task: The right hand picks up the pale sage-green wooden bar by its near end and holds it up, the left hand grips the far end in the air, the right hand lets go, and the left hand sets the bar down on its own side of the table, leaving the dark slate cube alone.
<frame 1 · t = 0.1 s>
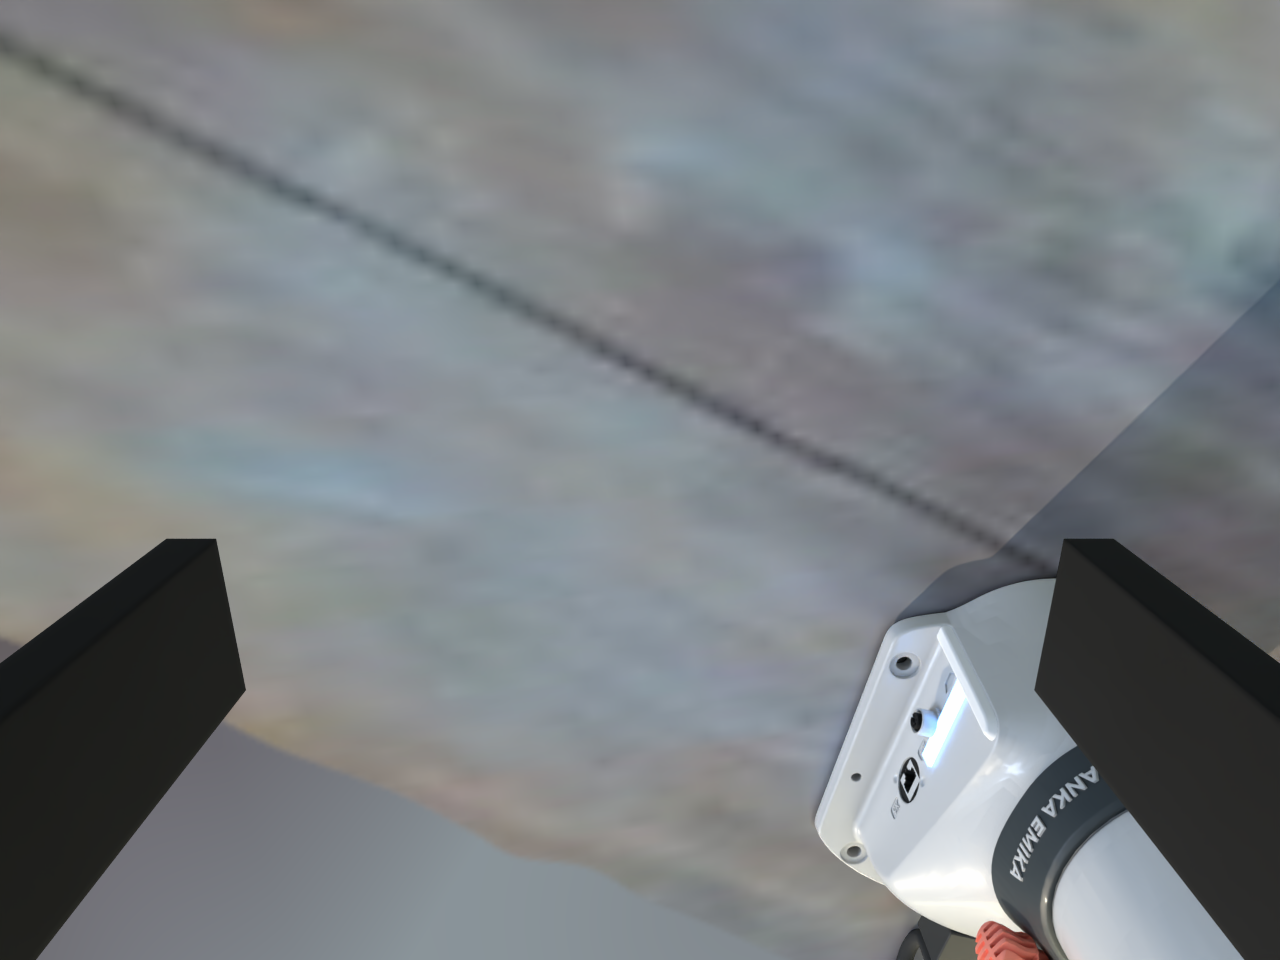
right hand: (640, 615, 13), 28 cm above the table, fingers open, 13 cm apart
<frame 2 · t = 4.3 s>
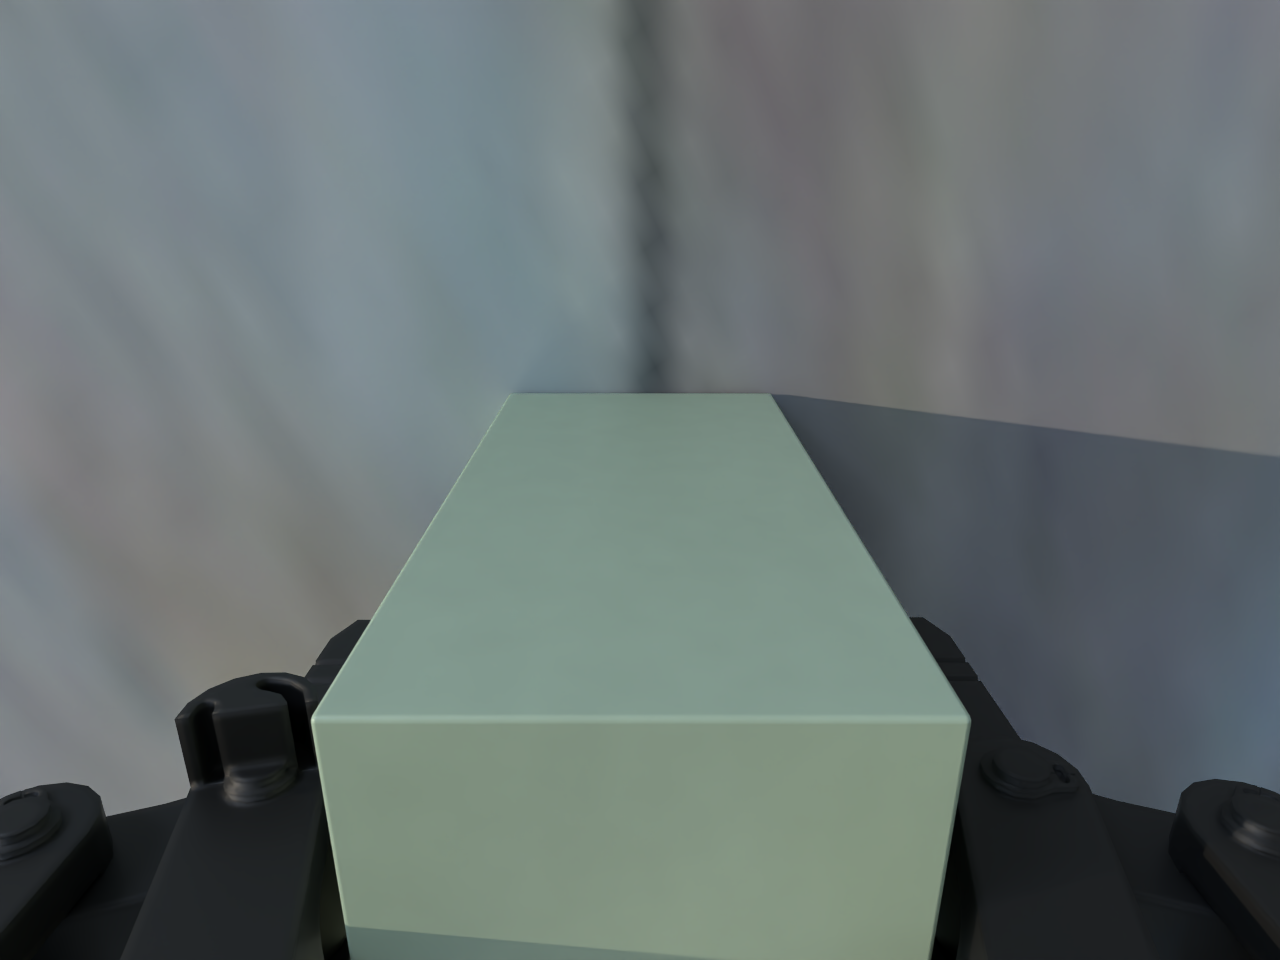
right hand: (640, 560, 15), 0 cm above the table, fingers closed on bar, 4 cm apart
bar: (640, 917, 18), on the table, touching right hand
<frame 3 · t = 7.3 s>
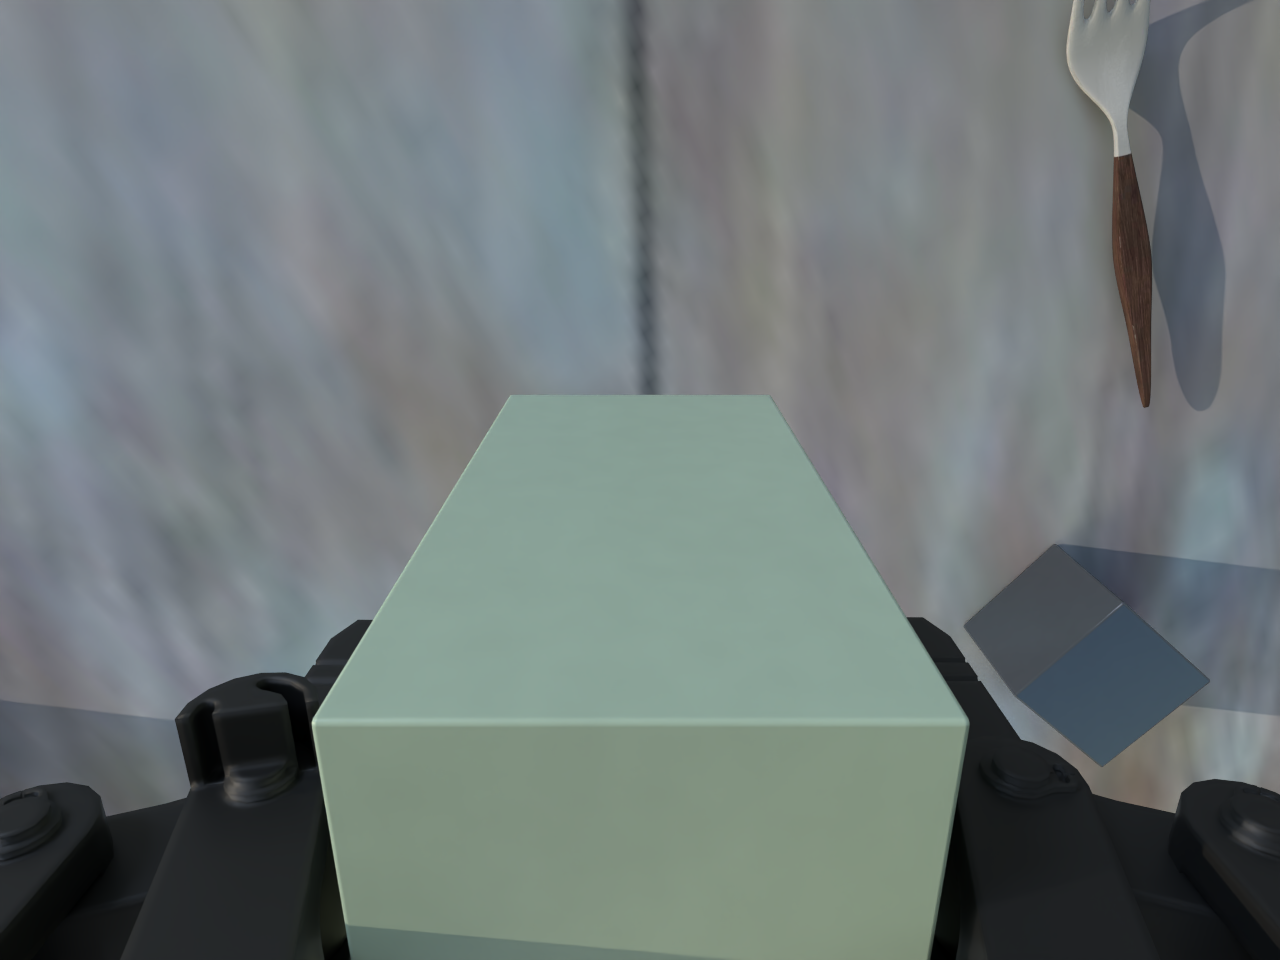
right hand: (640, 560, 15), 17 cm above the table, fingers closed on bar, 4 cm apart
slate cube: (1047, 619, 34), on the table
bar: (640, 918, 18), point 16 cm above the table, touching right hand
fork: (1114, 189, 28), on the table
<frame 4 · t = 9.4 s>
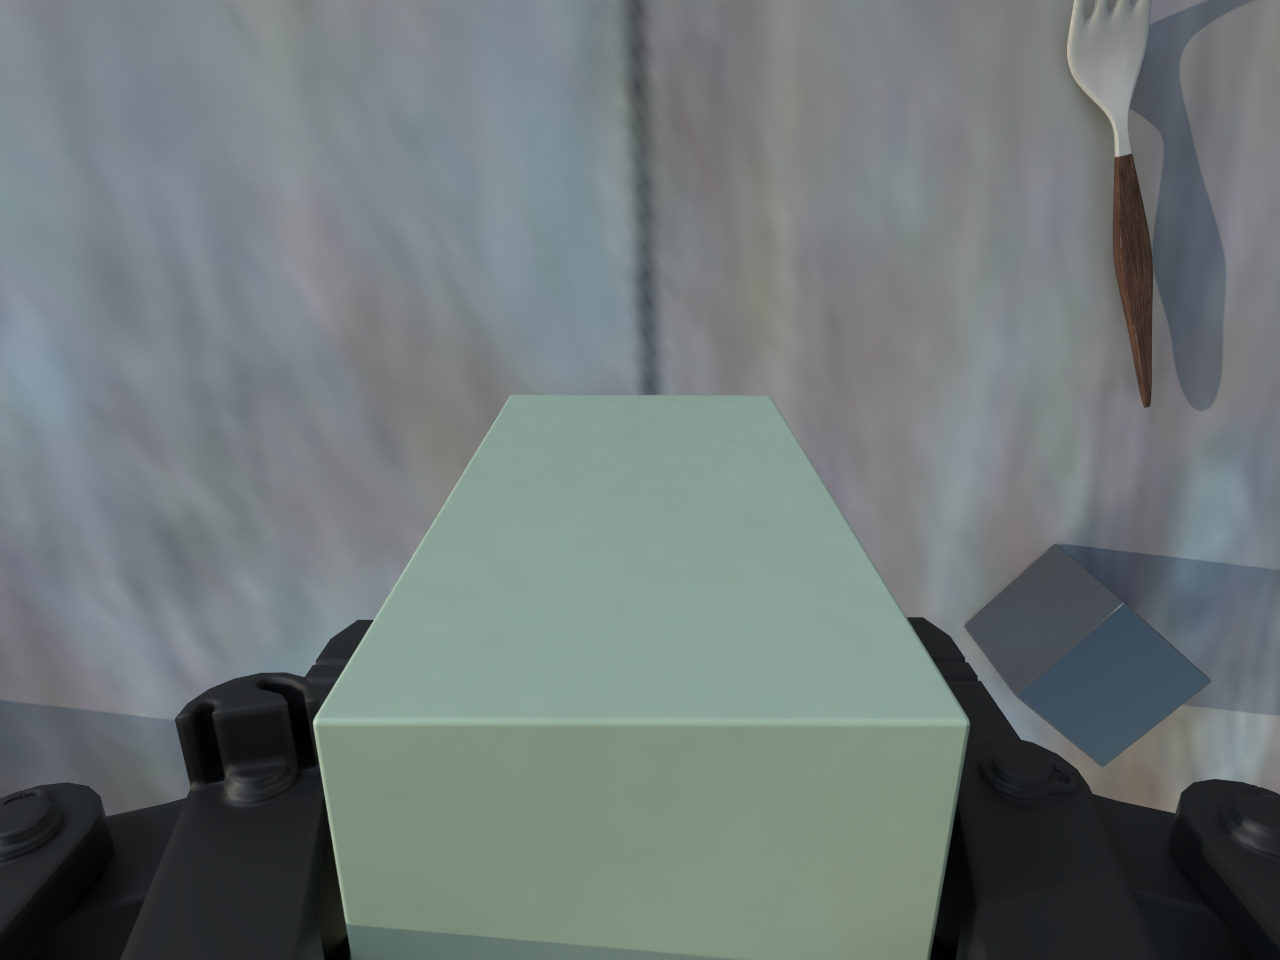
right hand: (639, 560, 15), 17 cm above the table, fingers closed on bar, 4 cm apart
slate cube: (1047, 619, 34), on the table
bar: (639, 918, 18), point 16 cm above the table, touching right hand, left hand
fork: (1115, 189, 28), on the table
when the right hand's fingers open (17 cm above the table, at t = 10.4 s): bar stays where it is, held by the left hand.
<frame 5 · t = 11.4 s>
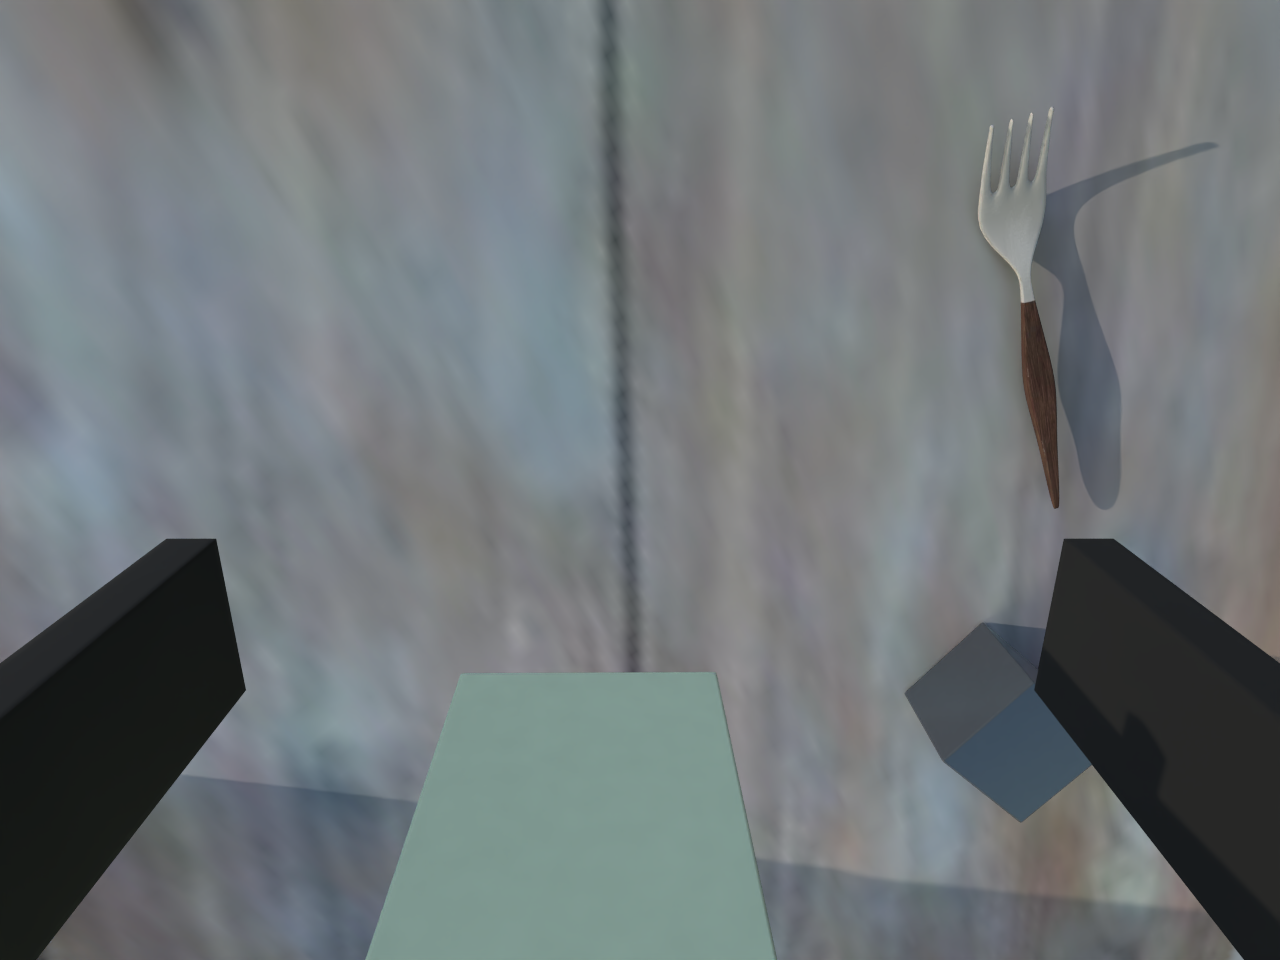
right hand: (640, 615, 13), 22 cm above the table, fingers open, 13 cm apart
slate cube: (978, 687, 38), on the table
fork: (1023, 326, 33), on the table
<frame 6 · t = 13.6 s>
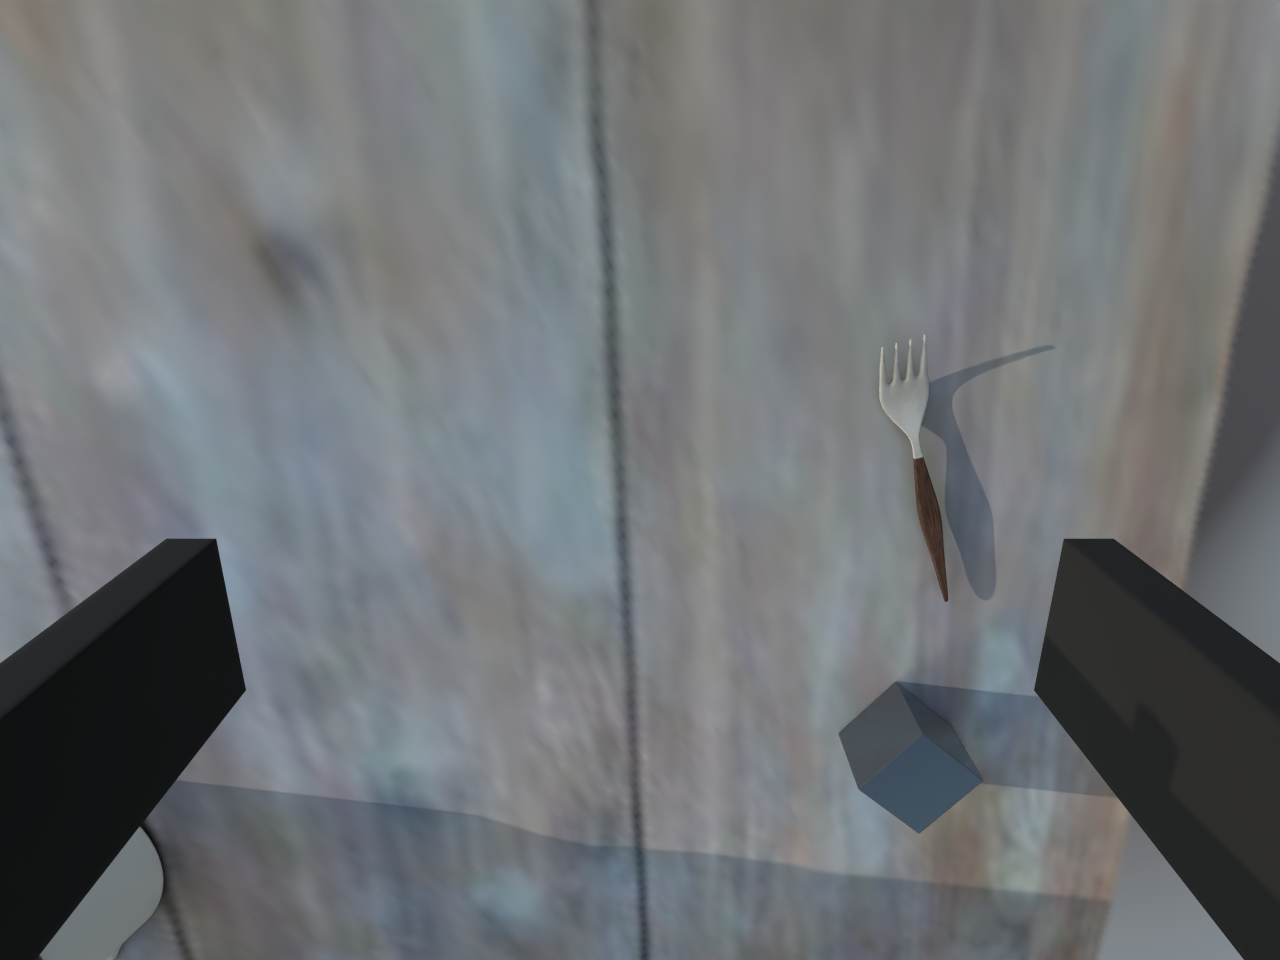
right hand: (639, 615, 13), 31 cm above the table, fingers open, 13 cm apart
slate cube: (894, 729, 50), on the table
fork: (917, 472, 45), on the table
when the left hand's fingers open (5 cm above the table, at t = 17.6 s): bar stays where it is, on the table.
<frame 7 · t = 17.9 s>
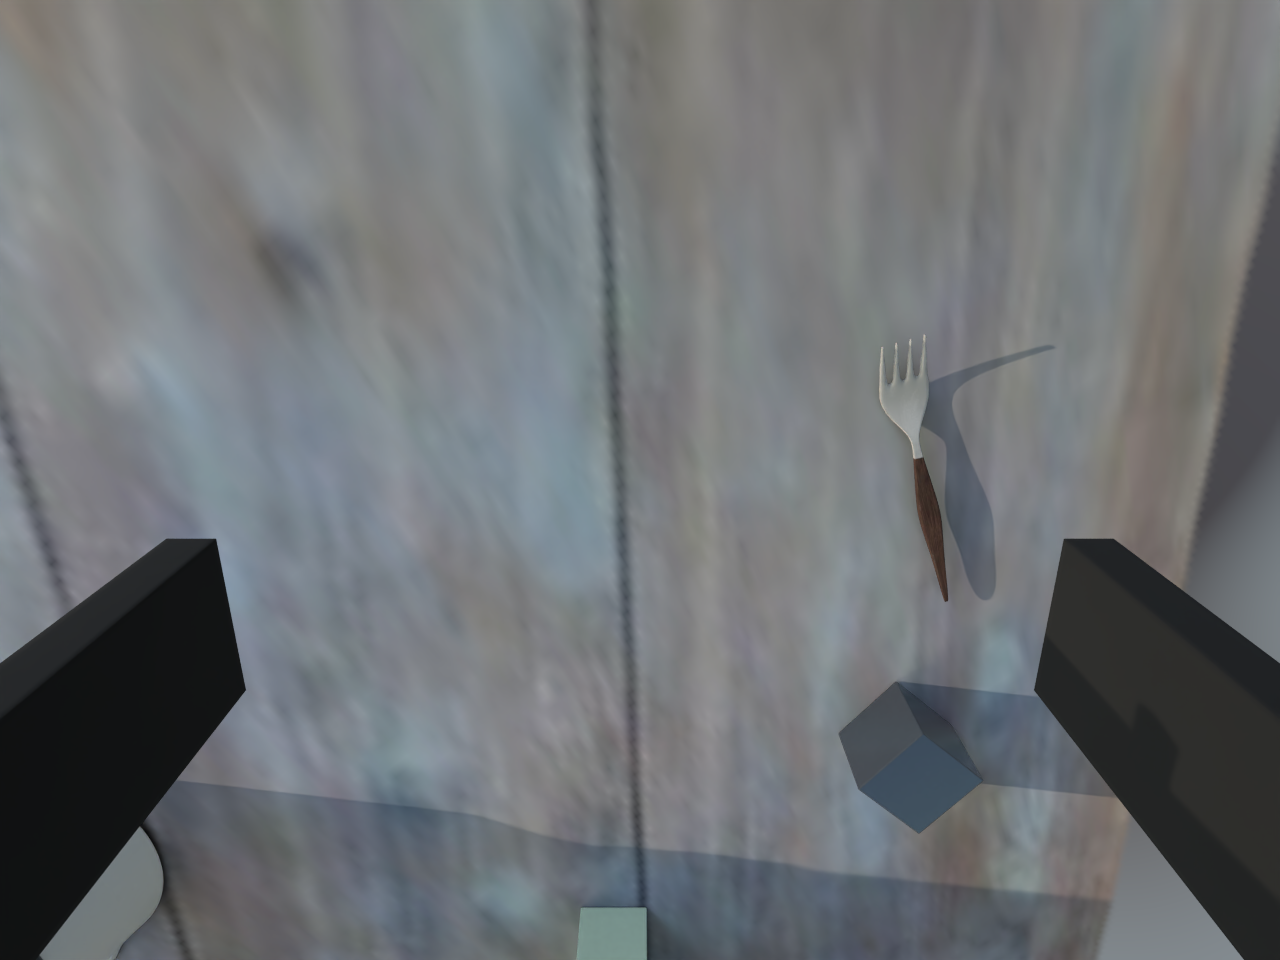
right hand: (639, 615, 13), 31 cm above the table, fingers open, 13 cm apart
slate cube: (894, 729, 50), on the table
fork: (917, 472, 45), on the table
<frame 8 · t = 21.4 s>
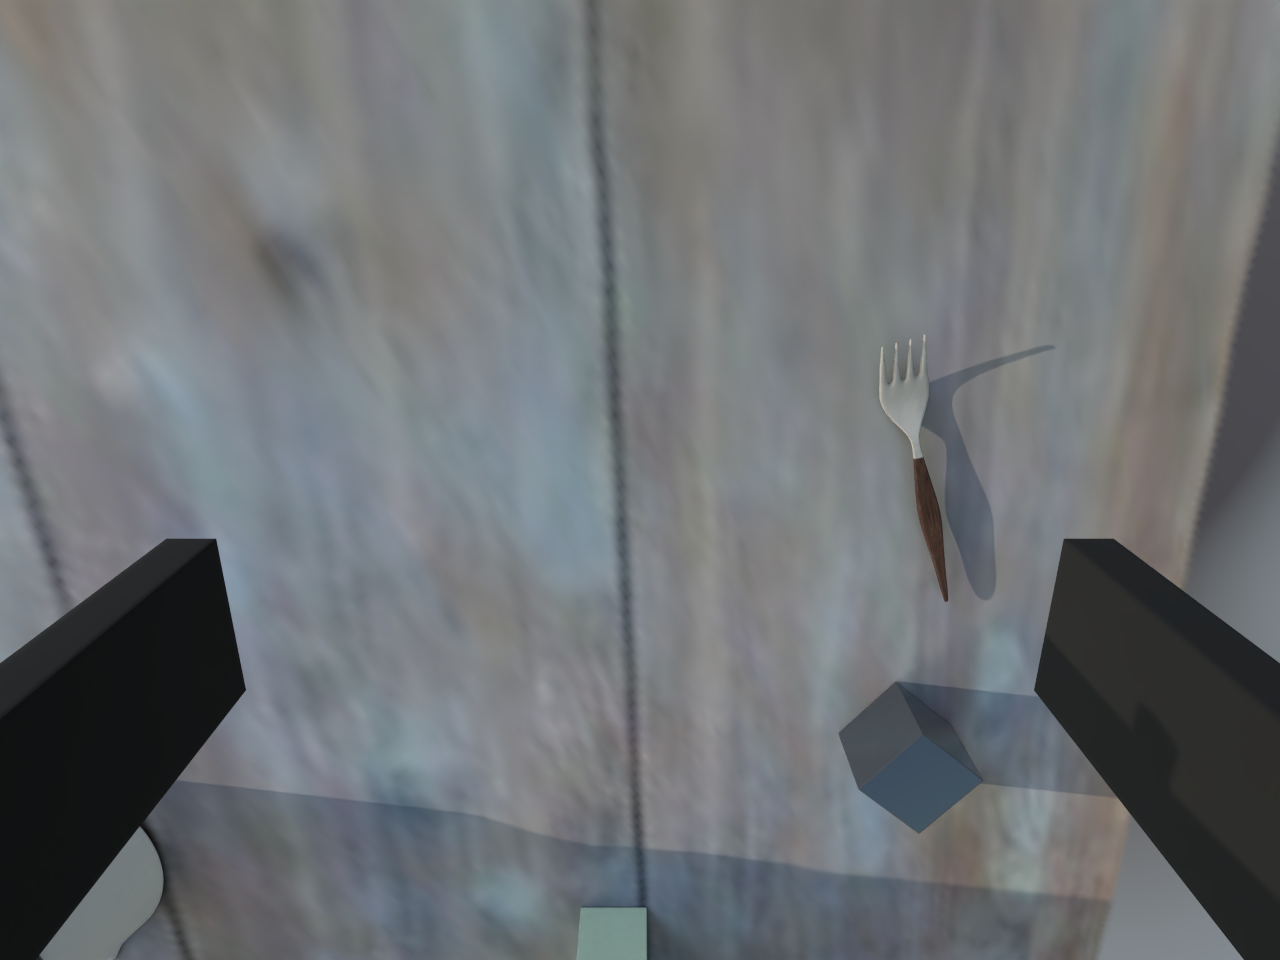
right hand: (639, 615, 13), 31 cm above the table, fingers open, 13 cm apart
slate cube: (894, 729, 50), on the table
fork: (917, 472, 45), on the table
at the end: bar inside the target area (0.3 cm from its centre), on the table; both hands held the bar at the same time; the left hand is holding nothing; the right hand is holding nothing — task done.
